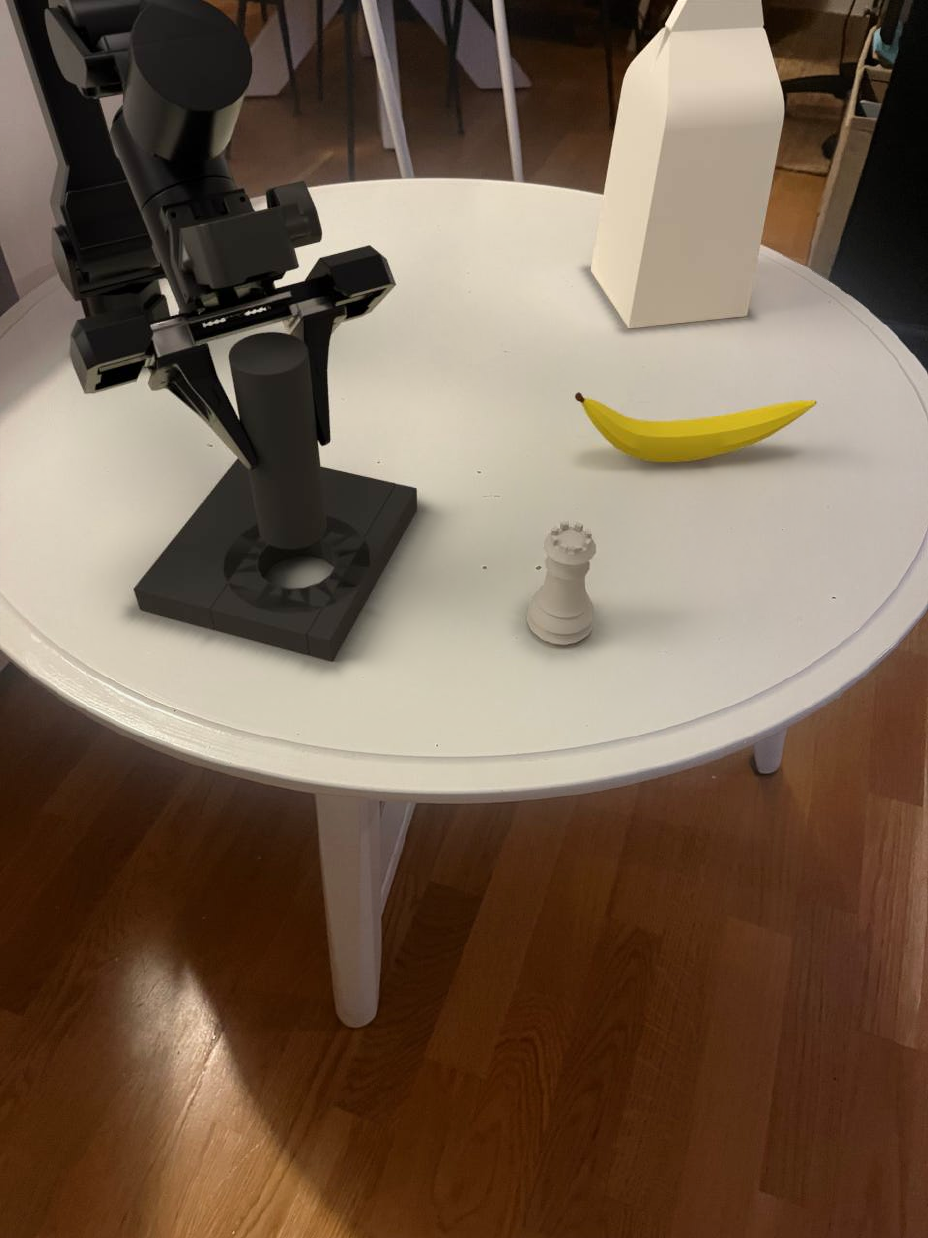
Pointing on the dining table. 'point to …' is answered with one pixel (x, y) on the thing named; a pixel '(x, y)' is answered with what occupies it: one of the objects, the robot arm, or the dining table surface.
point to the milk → (691, 168)
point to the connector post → (280, 437)
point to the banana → (690, 431)
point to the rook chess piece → (564, 587)
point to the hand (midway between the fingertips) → (290, 456)
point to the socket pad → (239, 558)
